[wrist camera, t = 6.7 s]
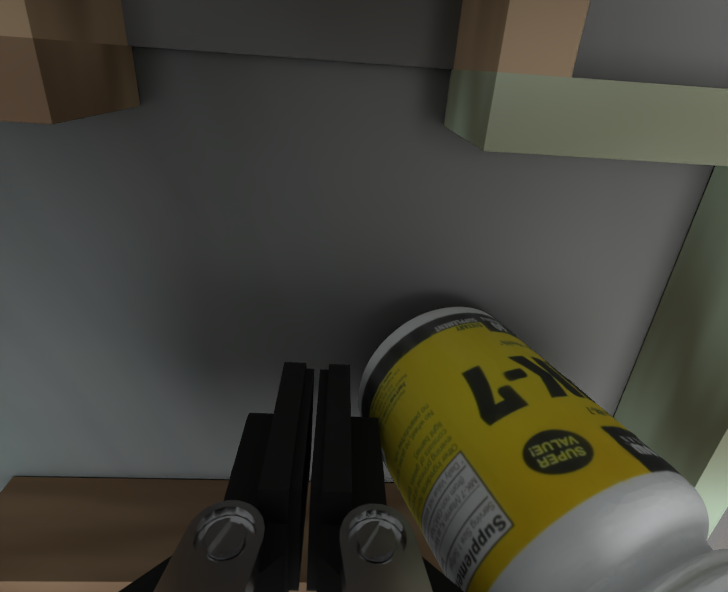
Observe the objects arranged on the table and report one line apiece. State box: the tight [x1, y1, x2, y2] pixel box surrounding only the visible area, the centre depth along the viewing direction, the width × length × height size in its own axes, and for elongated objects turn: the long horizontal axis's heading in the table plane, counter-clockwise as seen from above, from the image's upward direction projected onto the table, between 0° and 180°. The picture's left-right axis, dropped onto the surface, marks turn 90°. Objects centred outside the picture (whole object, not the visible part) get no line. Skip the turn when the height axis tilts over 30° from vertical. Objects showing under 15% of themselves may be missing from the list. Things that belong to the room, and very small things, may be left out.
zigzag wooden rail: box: [0, 0, 728, 592], centre depth 10 cm, size 22×21×4 cm
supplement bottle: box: [358, 307, 728, 592], centre depth 10 cm, size 5×5×8 cm
